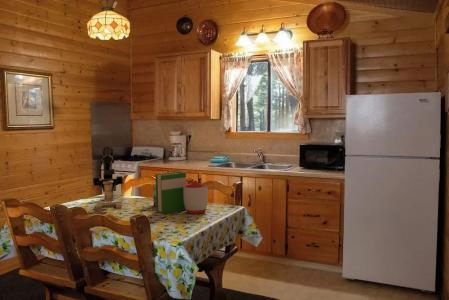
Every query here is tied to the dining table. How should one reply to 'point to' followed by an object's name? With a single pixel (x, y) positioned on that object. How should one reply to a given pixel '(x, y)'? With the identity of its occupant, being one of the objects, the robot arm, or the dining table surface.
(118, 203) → the notched board
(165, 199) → the hardback book
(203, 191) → the white plant pot
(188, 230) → the dining table surface
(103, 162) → the robot arm
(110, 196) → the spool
